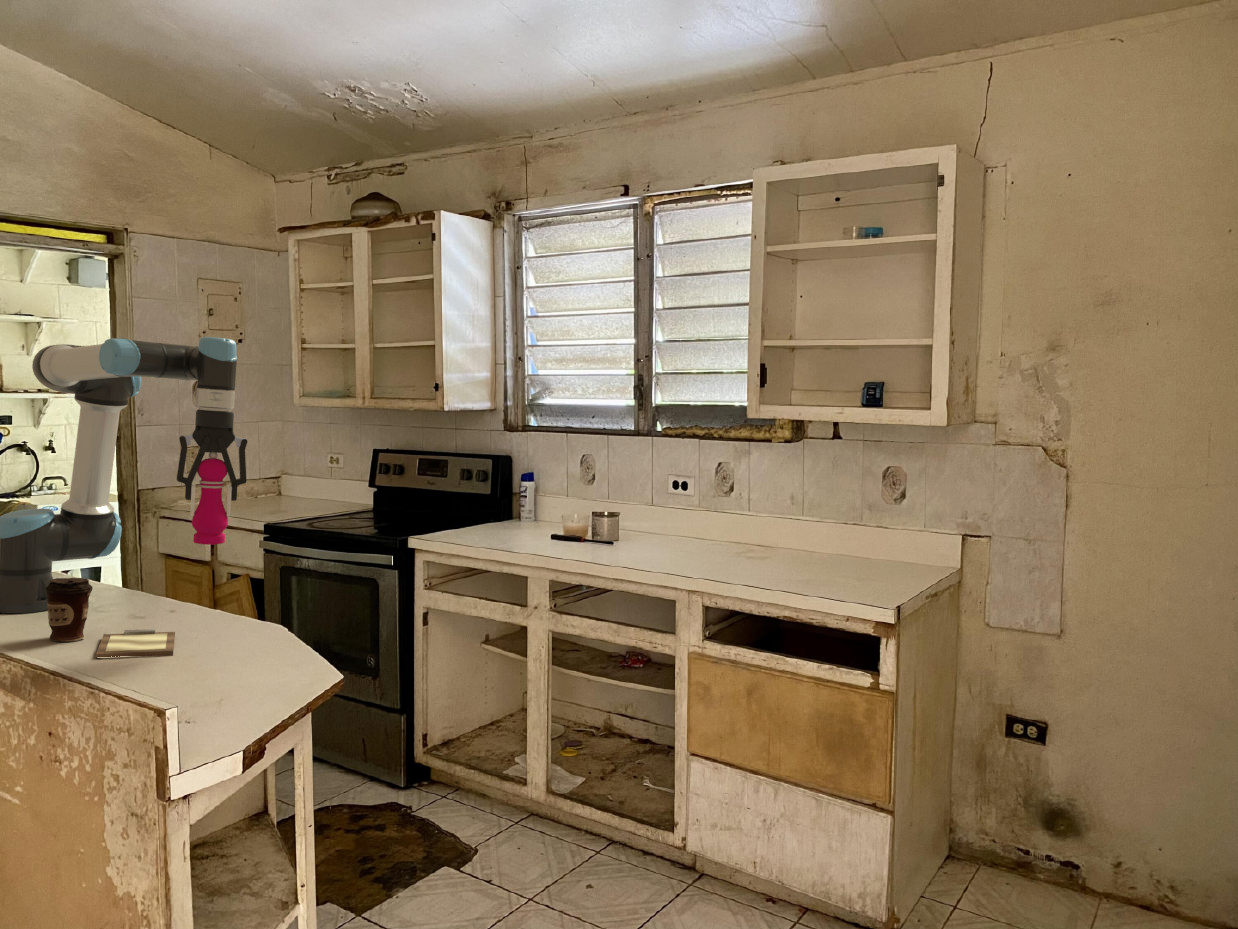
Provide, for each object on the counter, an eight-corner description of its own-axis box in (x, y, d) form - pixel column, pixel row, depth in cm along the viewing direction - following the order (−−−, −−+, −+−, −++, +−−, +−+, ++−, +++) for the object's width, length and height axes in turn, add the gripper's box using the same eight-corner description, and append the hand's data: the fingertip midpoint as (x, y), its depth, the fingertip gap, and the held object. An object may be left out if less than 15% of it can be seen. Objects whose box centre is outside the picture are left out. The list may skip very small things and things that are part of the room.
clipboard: (103, 638, 198) (103, 630, 198) (174, 636, 204) (175, 628, 204) (95, 659, 184) (96, 650, 184) (173, 655, 190) (173, 646, 190)
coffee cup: (67, 646, 191) (69, 585, 190) (33, 641, 193) (35, 581, 192) (98, 636, 200) (100, 578, 199) (66, 632, 201) (68, 574, 201)
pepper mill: (234, 542, 201) (238, 452, 200) (210, 546, 194) (214, 452, 193) (208, 538, 203) (212, 449, 202) (183, 542, 196) (187, 449, 195)
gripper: (164, 407, 189) (159, 517, 191) (264, 413, 198) (259, 518, 199) (165, 405, 196) (160, 512, 197) (261, 411, 204) (256, 513, 206)
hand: (210, 515), depth 198 cm, fingers closed on pepper mill, 6 cm apart
